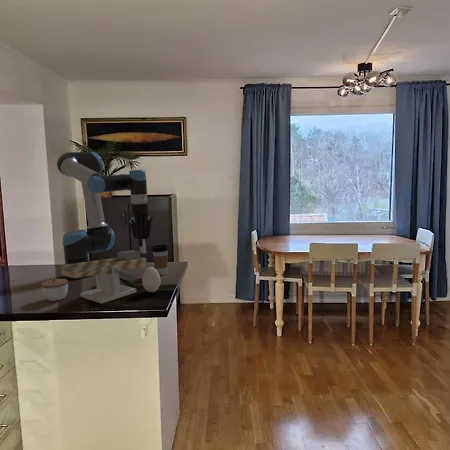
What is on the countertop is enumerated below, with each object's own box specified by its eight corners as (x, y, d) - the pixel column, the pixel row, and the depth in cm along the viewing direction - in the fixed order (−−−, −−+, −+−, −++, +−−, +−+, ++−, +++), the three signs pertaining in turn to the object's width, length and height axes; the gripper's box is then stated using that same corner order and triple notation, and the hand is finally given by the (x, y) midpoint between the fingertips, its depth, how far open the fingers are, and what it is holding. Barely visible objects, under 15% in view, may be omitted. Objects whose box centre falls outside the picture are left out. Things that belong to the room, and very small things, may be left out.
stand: (101, 303, 170) (98, 270, 168) (80, 296, 181) (77, 265, 179) (136, 292, 184) (134, 261, 182) (114, 286, 194) (112, 257, 192)
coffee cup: (166, 276, 208) (164, 247, 206) (150, 276, 210) (148, 247, 208) (172, 271, 216) (170, 243, 214) (156, 271, 218) (154, 243, 216)
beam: (74, 278, 164) (74, 268, 163) (61, 274, 170) (61, 264, 170) (146, 266, 191) (146, 257, 191) (132, 263, 198) (132, 255, 197)
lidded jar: (47, 296, 183) (45, 275, 182) (72, 294, 184) (70, 274, 183) (39, 304, 173) (36, 282, 171) (65, 302, 174) (63, 281, 172)
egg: (145, 296, 178) (143, 270, 176) (141, 291, 185) (139, 266, 183) (163, 293, 181) (161, 267, 179) (158, 288, 188) (157, 264, 187)
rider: (125, 264, 185) (125, 253, 184) (117, 262, 188) (117, 251, 188) (139, 262, 191) (139, 251, 190) (131, 260, 194) (131, 250, 194)
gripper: (133, 204, 185) (137, 256, 188) (155, 202, 195) (158, 250, 198) (123, 204, 190) (127, 254, 193) (145, 201, 199) (148, 249, 203)
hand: (143, 252), depth 196 cm, fingers closed
